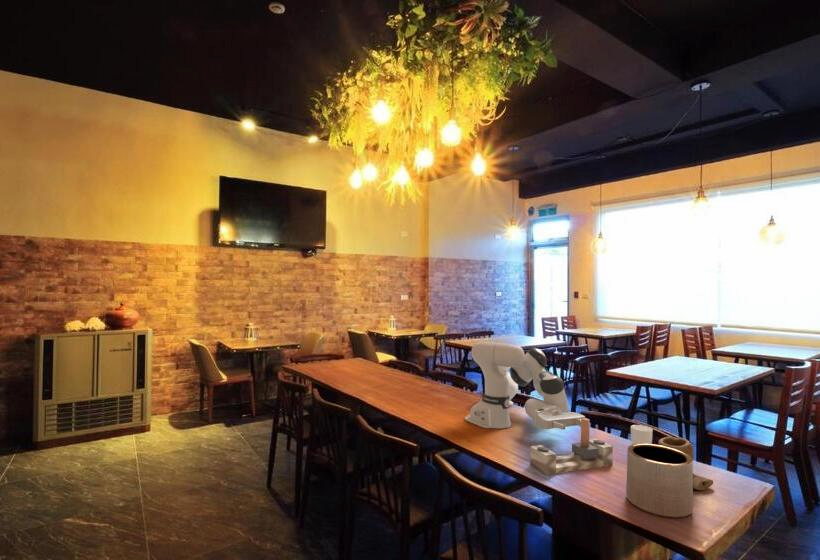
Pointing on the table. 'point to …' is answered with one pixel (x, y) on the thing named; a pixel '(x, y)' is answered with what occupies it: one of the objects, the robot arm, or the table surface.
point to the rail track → (569, 459)
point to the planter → (660, 480)
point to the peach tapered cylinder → (585, 443)
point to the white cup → (641, 434)
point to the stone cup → (687, 448)
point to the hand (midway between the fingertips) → (574, 426)
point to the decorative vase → (512, 385)
